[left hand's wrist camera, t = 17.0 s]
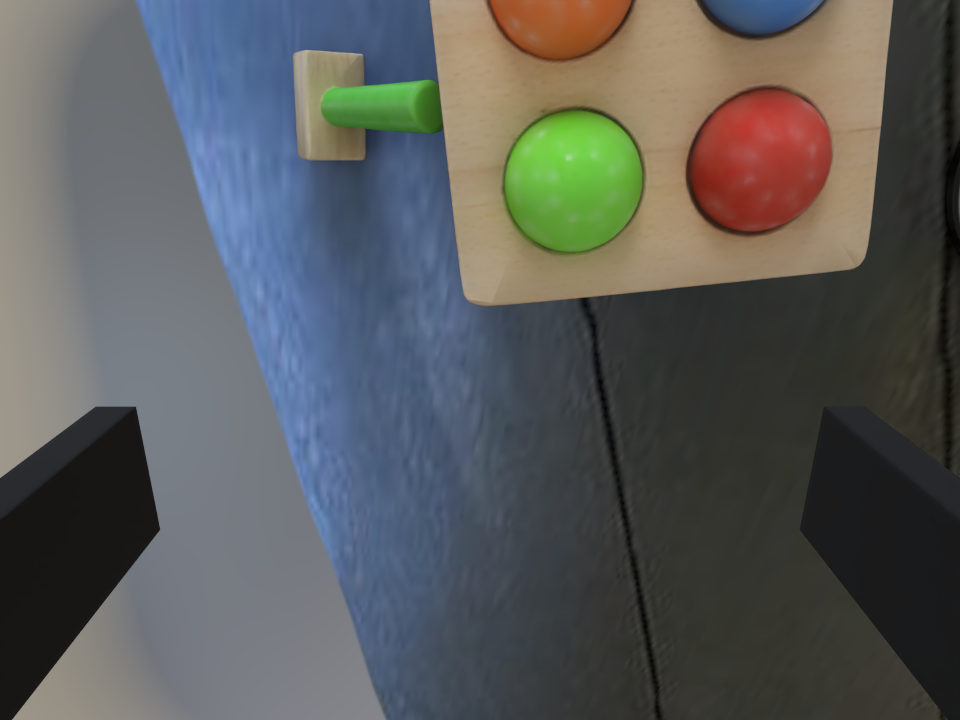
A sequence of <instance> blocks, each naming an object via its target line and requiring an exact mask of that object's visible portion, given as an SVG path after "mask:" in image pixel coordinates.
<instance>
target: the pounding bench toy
mask: <svg viewBox="0 0 960 720" xmlns="http://www.w3.org/2000/svg"><path fill="white" fill-rule="evenodd" d="M892 7H893V0H430V9H431V18H432V27H433V36H434V45H435V54H436V63H437V72H438V81H439V85H438V84H437V83H436V82H435V81H434V80H421V81H413V82H404V83H393V84H382V85H370V86H365V59H364V56H363V54H355V53H341V52H328V51H312V50H303V51H299V52H296V53H294V55H293V70H294V91H295V110H296V130H297V146H298V156H299V157H300V158H303V159H306V160H364V159H365V157H366V129H375V130H386V131H399V132H412V133H432V134H434V133H437V132H439V131H441V130H442V129H443V128H444V135H445V144H446V153H447V162H448V171H449V180H450V189H451V198H452V206H453V215H454V224H455V232H456V241H457V249H458V258H459V266H460V274H461V280H462V286H463V292H464V296H465V298H466V299H467V300H468V301H469V302H471V303H473V304H477V305H480V306H495V305H509V304H520V303H531V302H542V301H553V300H563V299H573V298H584V297H594V296H604V295H614V294H624V293H634V292H644V291H654V290H663V289H671V288H680V287H690V286H700V285H710V284H720V283H730V282H739V281H749V280H758V279H768V278H777V277H787V276H796V275H805V274H815V273H824V272H832V271H841V270H850V269H853V268H855V267H857V266H859V265H860V264H861V263H862V261H863V260H864V258H865V255H866V251H867V247H868V241H869V234H870V227H871V218H872V209H873V200H874V189H875V179H876V169H877V159H878V147H879V138H880V130H881V120H882V109H883V97H884V86H885V74H886V63H887V54H888V44H889V35H890V25H891V16H892Z"/></svg>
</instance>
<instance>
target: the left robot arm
mask: <svg viewBox="0 0 960 720" xmlns="http://www.w3.org/2000/svg"><path fill="white" fill-rule="evenodd" d="M946 200H947V217H948V224H949V228H950V233H951V236H952V239H953V241H954V244H955V246H956V248H957V250H958V252H959V254H960V142H959V144H958V147H957V150H956V152H955V155H954V158H953V162H952V165H951V169H950V174H949V179H948V185H947V197H946ZM159 530H160V526H159V522H158V516H157V511H156V506H155V501H154V496H153V491H152V486H151V481H150V476H149V471H148V466H147V461H146V456H145V451H144V445H143V440H142V435H141V430H140V425H139V420H138V415H137V410H136V407H95V408H93V409H92V410H91V411H89V412H88V413H87V414H85V415H84V416H83V417H81V418H80V419H79V420H77V421H76V422H75V423H73V424H72V425H71V426H69V427H68V428H67V429H65V430H64V431H63V432H61V433H60V434H59V435H57V436H56V437H55V438H53V439H52V440H51V441H49V442H48V443H47V444H45V445H44V446H43V447H41V448H40V449H39V450H37V451H36V452H35V453H33V454H32V455H31V456H29V457H28V458H27V459H25V460H24V461H23V462H21V463H20V464H19V465H17V466H16V467H15V468H13V469H12V470H11V471H9V472H8V473H7V474H5V475H4V476H3V477H1V478H0V720H12V719H13V718H14V716H15V715H16V714H17V713H18V711H19V710H20V709H21V707H22V706H23V705H24V704H25V702H26V701H27V700H28V699H29V697H30V696H31V695H32V693H33V692H34V691H35V690H36V688H37V687H38V686H39V684H40V683H41V682H42V681H43V679H44V678H45V677H46V675H47V674H48V673H49V671H50V670H51V669H52V668H53V666H54V665H55V664H56V663H57V661H58V660H59V659H60V657H61V656H62V655H63V654H64V652H65V651H66V650H67V648H68V647H69V646H70V645H71V643H72V642H73V641H74V639H75V638H76V637H77V636H78V634H79V633H80V632H81V630H82V629H83V628H84V627H85V625H86V624H87V623H88V621H89V620H90V619H91V618H92V616H93V615H94V614H95V613H96V611H97V610H98V609H99V607H100V606H101V605H102V603H103V602H104V601H105V600H106V598H107V597H108V596H109V595H110V593H111V592H112V591H113V589H114V588H115V587H116V586H117V584H118V583H119V582H120V580H121V579H122V578H123V577H124V575H125V574H126V573H127V572H128V570H129V569H130V568H131V566H132V565H133V564H134V562H135V561H136V560H137V559H138V557H139V556H140V555H141V554H142V552H143V551H144V550H145V548H146V547H147V546H148V545H149V543H150V542H151V541H152V539H153V538H154V537H155V536H156V534H157V533H158V532H159ZM800 530H801V532H802V533H803V534H804V536H805V537H806V538H807V539H808V541H809V542H810V543H811V545H812V546H813V547H814V548H815V550H816V551H817V552H818V554H819V555H820V556H821V557H822V559H823V560H824V561H825V563H826V564H827V565H828V566H829V568H830V569H831V570H832V572H833V573H834V574H835V575H836V577H837V578H838V579H839V580H840V582H841V583H842V584H843V586H844V587H845V588H846V589H847V591H848V592H849V593H850V595H851V596H852V597H853V598H854V600H855V601H856V602H857V604H858V605H859V606H860V607H861V609H862V610H863V611H864V613H865V614H866V615H867V616H868V618H869V619H870V620H871V622H872V623H873V624H874V625H875V627H876V628H877V629H878V631H879V632H880V633H881V634H882V636H883V637H884V638H885V640H886V641H887V642H888V643H889V645H890V646H891V647H892V648H893V650H894V651H895V652H896V654H897V655H898V656H899V657H900V659H901V660H902V661H903V663H904V664H905V665H906V666H907V668H908V669H909V670H910V672H911V673H912V674H913V675H914V677H915V678H916V679H917V681H918V682H919V683H920V684H921V686H922V687H923V688H924V690H925V691H926V692H927V693H928V695H929V696H930V697H931V699H932V700H933V701H934V702H935V704H936V705H937V706H938V708H939V709H940V710H941V711H942V713H943V714H944V715H945V716H946V718H947V719H948V720H960V478H959V477H958V476H956V475H955V474H953V473H952V472H951V471H949V470H948V469H947V468H945V467H944V466H943V465H941V464H940V463H939V462H937V461H936V460H935V459H933V458H932V457H931V456H929V455H928V454H927V453H925V452H924V451H923V450H921V449H920V448H919V447H917V446H916V445H915V444H913V443H912V442H911V441H909V440H908V439H907V438H905V437H904V436H903V435H901V434H900V433H899V432H897V431H896V430H895V429H893V428H892V427H891V426H889V425H888V424H887V423H885V422H884V421H883V420H881V419H880V418H879V417H877V416H876V415H875V414H873V413H872V412H871V411H869V410H868V409H867V408H865V407H824V410H823V415H822V420H821V425H820V430H819V435H818V440H817V445H816V451H815V456H814V461H813V466H812V471H811V476H810V481H809V486H808V491H807V496H806V501H805V506H804V511H803V516H802V521H801V526H800Z"/></svg>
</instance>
